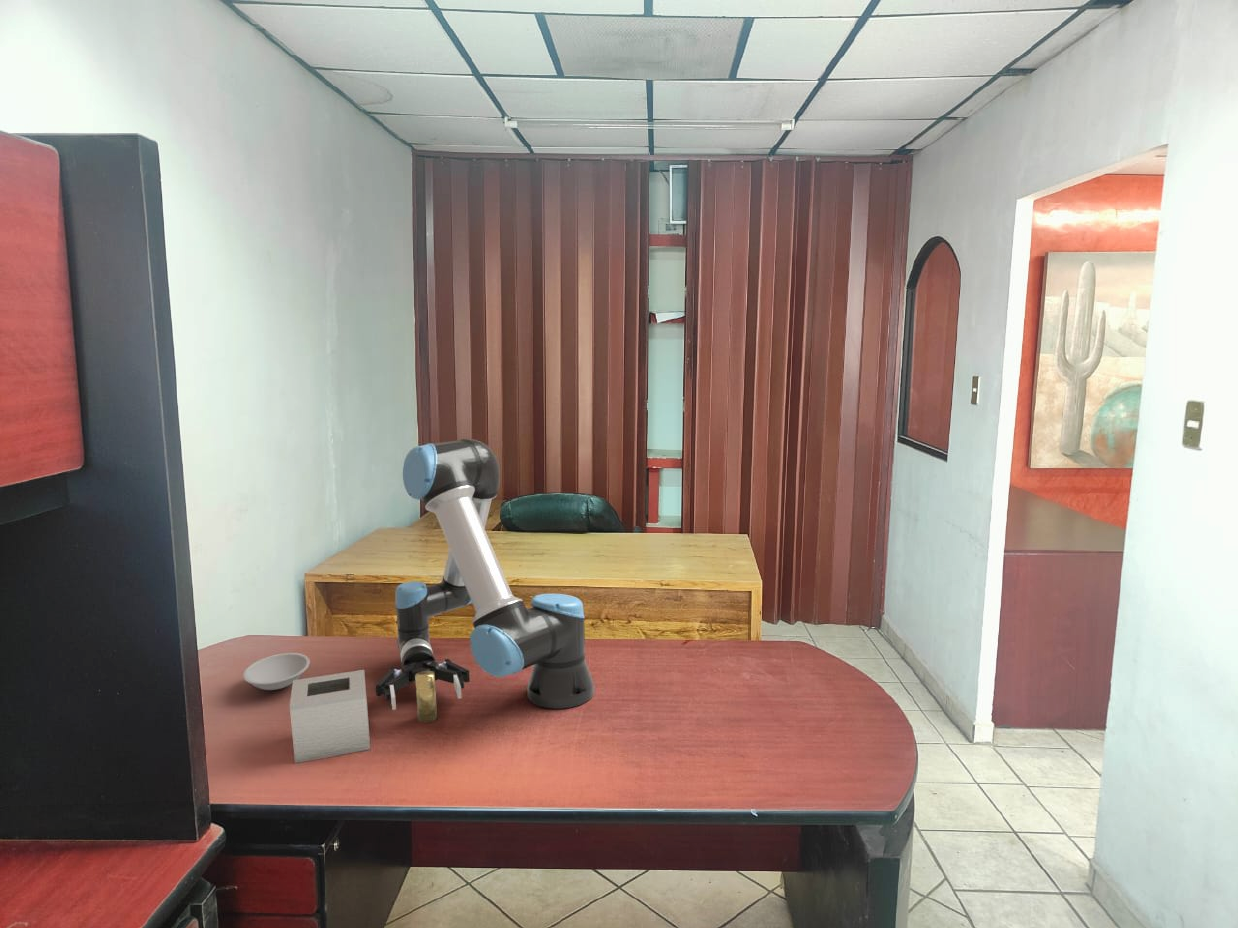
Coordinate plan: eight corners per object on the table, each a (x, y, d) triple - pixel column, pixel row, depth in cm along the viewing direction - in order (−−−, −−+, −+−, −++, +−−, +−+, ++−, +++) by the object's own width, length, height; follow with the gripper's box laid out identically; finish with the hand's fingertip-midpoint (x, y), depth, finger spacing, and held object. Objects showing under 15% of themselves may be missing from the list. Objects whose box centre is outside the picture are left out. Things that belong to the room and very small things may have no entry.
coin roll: (439, 713, 171) (436, 670, 169) (433, 722, 167) (430, 678, 165) (421, 713, 171) (418, 670, 170) (415, 722, 167) (412, 678, 166)
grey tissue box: (368, 722, 168) (364, 669, 166) (370, 749, 157) (366, 693, 155) (298, 734, 163) (293, 680, 161) (295, 763, 152) (289, 705, 150)
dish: (257, 674, 193) (255, 655, 193) (317, 669, 196) (316, 650, 195) (235, 707, 176) (233, 686, 175) (302, 700, 179) (300, 680, 178)
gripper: (471, 666, 190) (486, 704, 170) (363, 683, 182) (366, 725, 162) (470, 637, 189) (485, 671, 169) (361, 653, 181) (363, 691, 161)
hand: (427, 698), depth 165 cm, fingers open, 13 cm apart
